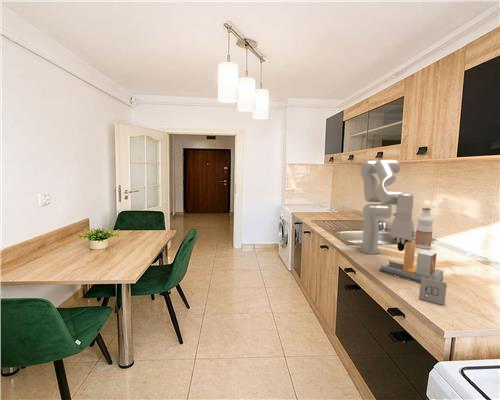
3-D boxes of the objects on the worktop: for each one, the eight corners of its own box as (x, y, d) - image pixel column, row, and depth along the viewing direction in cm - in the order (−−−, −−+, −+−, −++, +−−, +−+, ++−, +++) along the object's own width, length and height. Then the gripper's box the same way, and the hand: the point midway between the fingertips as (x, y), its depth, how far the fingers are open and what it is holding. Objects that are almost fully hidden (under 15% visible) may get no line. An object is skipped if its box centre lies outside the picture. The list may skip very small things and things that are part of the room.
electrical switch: (418, 299, 123) (420, 278, 122) (419, 295, 127) (422, 275, 126) (444, 306, 117) (446, 284, 117) (445, 302, 121) (447, 281, 121)
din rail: (379, 271, 154) (380, 262, 153) (390, 265, 163) (391, 256, 162) (434, 287, 134) (435, 277, 134) (443, 279, 144) (444, 270, 143)
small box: (429, 281, 139) (431, 255, 137) (415, 277, 143) (417, 252, 142) (434, 277, 144) (437, 252, 142) (420, 273, 149) (422, 249, 147)
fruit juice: (422, 249, 193) (426, 209, 189) (411, 245, 202) (415, 207, 198) (433, 248, 195) (438, 208, 191) (422, 244, 204) (426, 206, 200)
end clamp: (402, 273, 147) (404, 242, 145) (408, 269, 153) (411, 239, 151) (414, 277, 143) (417, 245, 141) (420, 272, 149) (423, 242, 147)
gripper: (386, 215, 152) (383, 248, 154) (416, 219, 141) (413, 255, 143) (391, 213, 157) (389, 245, 159) (421, 218, 146) (418, 252, 148)
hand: (400, 250), depth 151 cm, fingers closed
